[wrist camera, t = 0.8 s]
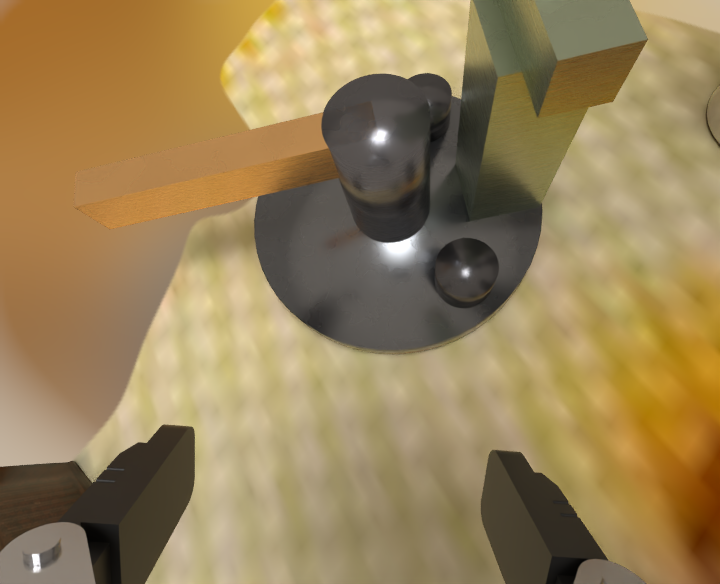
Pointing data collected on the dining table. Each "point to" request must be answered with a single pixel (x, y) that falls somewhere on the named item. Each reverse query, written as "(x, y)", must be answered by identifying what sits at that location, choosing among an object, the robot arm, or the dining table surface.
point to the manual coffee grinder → (37, 496)
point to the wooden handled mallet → (288, 164)
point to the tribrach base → (456, 183)
